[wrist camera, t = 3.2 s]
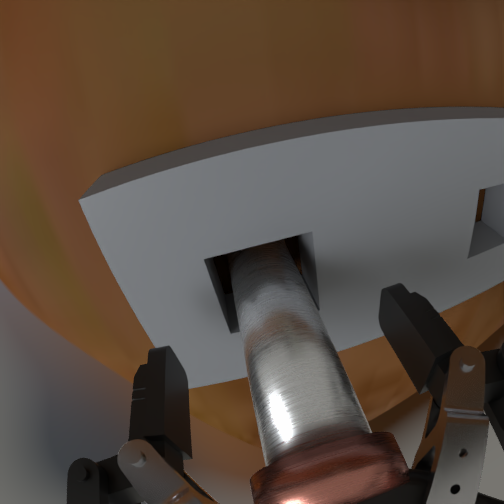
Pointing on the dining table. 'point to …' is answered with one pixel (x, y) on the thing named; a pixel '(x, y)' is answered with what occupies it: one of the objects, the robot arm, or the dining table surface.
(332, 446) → the lock pin
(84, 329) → the dining table surface
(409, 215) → the mount board
